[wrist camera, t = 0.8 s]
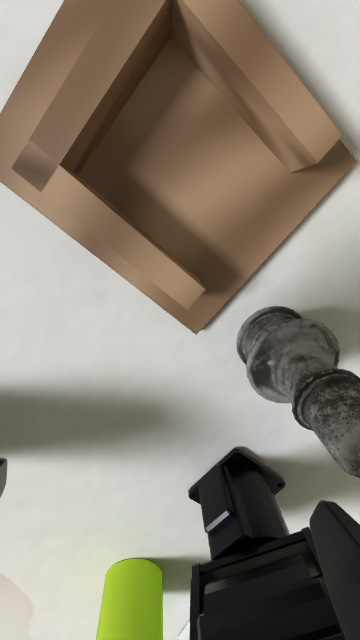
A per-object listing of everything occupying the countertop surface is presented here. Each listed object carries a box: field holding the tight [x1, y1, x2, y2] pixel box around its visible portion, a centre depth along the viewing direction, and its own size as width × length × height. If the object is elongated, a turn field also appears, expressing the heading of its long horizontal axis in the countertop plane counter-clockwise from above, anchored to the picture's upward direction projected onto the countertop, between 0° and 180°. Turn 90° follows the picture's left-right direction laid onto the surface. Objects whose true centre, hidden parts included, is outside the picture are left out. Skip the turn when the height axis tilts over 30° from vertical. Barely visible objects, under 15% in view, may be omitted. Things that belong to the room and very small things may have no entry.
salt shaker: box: [237, 306, 360, 477], centre depth 15 cm, size 6×6×12 cm
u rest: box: [0, 0, 356, 335], centre depth 14 cm, size 16×14×4 cm
